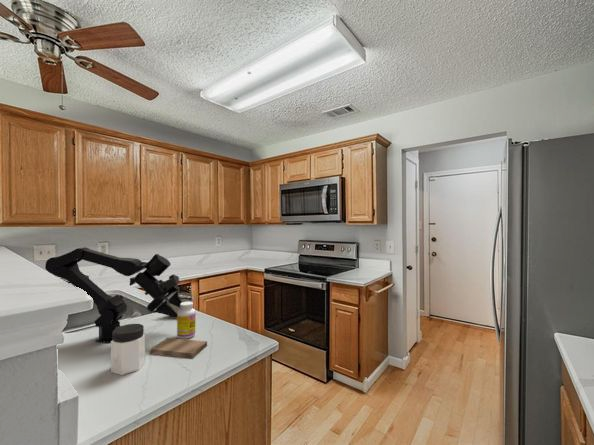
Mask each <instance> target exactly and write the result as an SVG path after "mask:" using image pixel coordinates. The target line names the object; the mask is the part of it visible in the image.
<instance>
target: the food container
mask: <svg viewBox="0 0 594 445" xmlns="http://www.w3.org/2000/svg"><path fill="white" fill-rule="evenodd" d="M179 297H180V299H181V301H182V302H193V301H194V300H195V299H194V296H193V294H192V293H188V292H179ZM169 305H170V306H171V307H172V308H173V309H174V311H175V312H176V313H178V311H179V310H180V309H181V308H179V307H177V306H175V305H173V304H170V303H169ZM168 318H169V319H177V317H172V316H169V315H168Z"/></svg>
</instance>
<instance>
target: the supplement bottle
mask: <svg viewBox="0 0 594 445" xmlns="http://www.w3.org/2000/svg"><path fill="white" fill-rule="evenodd" d="M193 306H194V302H193V301H192V302H182V303H180V308H181V309H180V310H179V311H178V313H177V315H178V316H177V318H176V323H177V324H176V337H177V339H185V340H189V339H191V338H193V337H195V336H196V309H195V308H193Z"/></svg>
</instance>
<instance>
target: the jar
mask: <svg viewBox="0 0 594 445" xmlns="http://www.w3.org/2000/svg"><path fill="white" fill-rule="evenodd" d="M144 330H145V329H144V325H143V324H142V323H129V324H124V325H120V327H118V328H116V329H114V330H113V334H112V338H113V340H112V341H111V342H110V372H111V373H114V374H117V375H120V376H124V375H127V374H130V373H134V372H137V371H139V370H141V368H142V367H143V365H144V364H145V363H146V334H145V333H144Z"/></svg>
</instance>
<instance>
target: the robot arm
mask: <svg viewBox="0 0 594 445" xmlns="http://www.w3.org/2000/svg"><path fill="white" fill-rule="evenodd" d="M81 261H85V262H89V263H93V264H96V265H100V266H103V267H107V268H111V269H112V270H114V271H115V272H116V273H119V274H120V275H123V276H124V277H130V278H129V286H130V287H131V286H133V285H138V286H139V287H140V288H141V289H142V290H143V291H145V292H144V293H143V294H144V295H145V296H147V295H149V296H150V297H151V298H152V299H153V300H151V301H150V302H149V304H148V305H147V311H148V312H150V313H151V314H152V313H154V314H155V313H157V314H162V315H165V316H168V317H169V316H172V317H177V316H178V315H177V313H176V312H175V311H174V309H173V308H172V307H171V306H170V305H169V303H170V304H173V305H175V306H177V307H179V308H180V303H182V301H181V299H180V297H179V293H180V291H181V290H180V287H179V286H178V285H179V284H181V280H180V277H179V276H178V275H176V274H174V273H173V274H171V275H169V277H168V279H166V280H162V279H158V278H156V276H157V277H160V276H161V275H162V274H163V273H164V272H165V271H166V270H167V269H168V268H169V267H170V266H171V262H170V260H168V258H167V257H166V258H165V257H164V256H162V255H160V254H158V253H155V254H154V255H153V256H152V258H151V259H150V260H149V261H142V260H141V259H138V258H134V257H119V256H115V255H111V254H108V253H104V252H101V251H98V250H94V249H90V248H89V247H86V246H85V247H77V248H75V249H74V250H71V251H70V252H67V253H65V254H62V255H60V256H59V255H58V256H53V257H49V258H48V259H47V260H46V261H45V268H44V269H45V270H46V271H47V272H48V273H49V274H50V275H51V274H52V275H53V276H54V277H57V278H60V279H63V280H66V281H67V282H69V283H70V284H71V285H72V286H73V287H75V286H76V287H79V288H81V289H83V290H84V291H86V292H87V294H88V295H90V296H91V297H92V298H93V300H94V303H93V304H95V306H96V308H97V311H98V314H99V317H97V318H96V320H94V324H95V327H96V328H98V338H96V339H95V341H94V342H97V343H108V344H109V343H110V344H111V341H112V340H113V338H112V334H113V330H114V329H116V328H118V327H120V326H121V321H119V320H120V319H123V316H124V315H125V314H126V313H127V310H128V305H127V303H126V300H124V299H123V298H121V297H120V295H119V294H116V295H114V296H113V295H112V296H111V295H109V294H108V293H107V292H105V291H104V290H103V289H102V288H101V287H99V286H98V285H97V284H96V283H94V281H93V280H91V279H90V278H89V277H88V276H86V275H85V274H84V273H83V272H82V271H81V270H80V267H79V264H78V263H80V262H81ZM143 270H144V271H143ZM142 271H143V272H142ZM131 276H134V277H131ZM76 287H75V288H76Z"/></svg>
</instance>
